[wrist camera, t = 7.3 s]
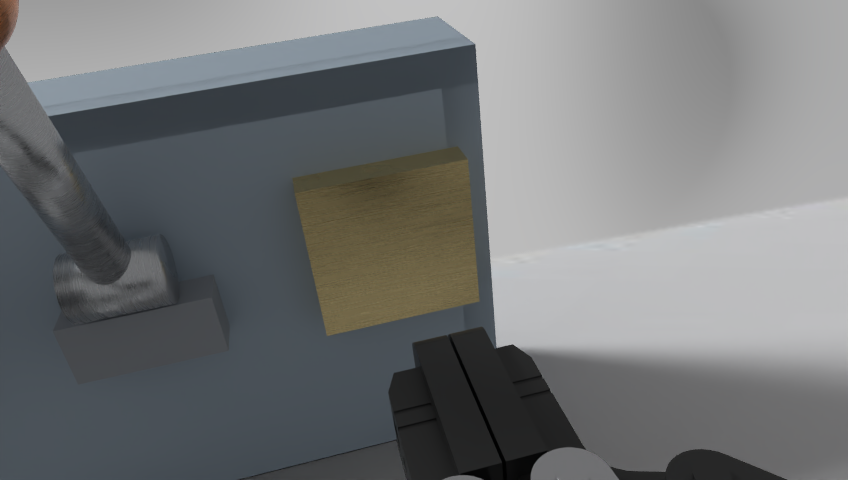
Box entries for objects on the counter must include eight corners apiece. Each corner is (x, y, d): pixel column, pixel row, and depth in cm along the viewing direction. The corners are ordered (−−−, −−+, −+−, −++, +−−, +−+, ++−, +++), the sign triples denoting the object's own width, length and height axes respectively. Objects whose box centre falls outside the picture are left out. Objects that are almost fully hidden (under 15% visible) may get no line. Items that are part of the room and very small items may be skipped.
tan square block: (326, 336, 19) (294, 193, 17) (315, 266, 23) (286, 140, 20) (479, 301, 20) (467, 159, 18) (445, 239, 23) (432, 113, 21)
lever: (78, 352, 17) (-279, -30, 8) (82, 267, 18) (-218, -129, 10) (185, 328, 17) (-53, -59, 9) (180, 247, 18) (-26, -151, 10)
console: (-129, 603, 20) (-464, 218, 13) (-60, 470, 24) (-287, 133, 18) (512, 437, 23) (489, 54, 16) (469, 345, 27) (437, 16, 21)
